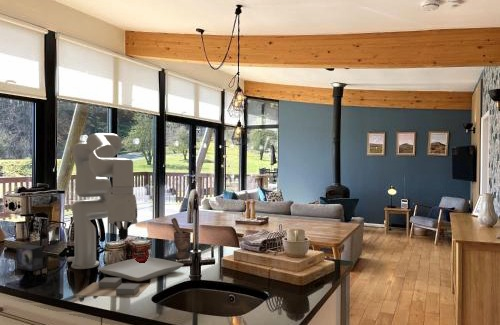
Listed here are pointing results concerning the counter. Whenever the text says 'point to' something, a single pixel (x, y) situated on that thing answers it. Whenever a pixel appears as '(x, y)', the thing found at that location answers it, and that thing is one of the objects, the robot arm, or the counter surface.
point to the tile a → (110, 282)
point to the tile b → (127, 289)
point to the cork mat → (108, 290)
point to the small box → (29, 257)
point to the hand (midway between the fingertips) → (123, 238)
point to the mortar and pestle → (181, 241)
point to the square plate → (141, 269)
